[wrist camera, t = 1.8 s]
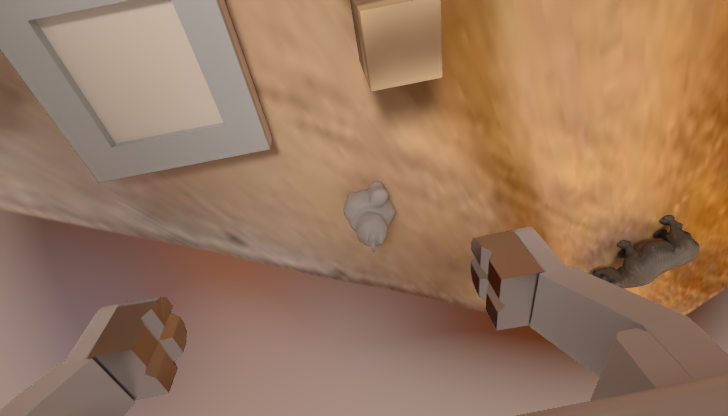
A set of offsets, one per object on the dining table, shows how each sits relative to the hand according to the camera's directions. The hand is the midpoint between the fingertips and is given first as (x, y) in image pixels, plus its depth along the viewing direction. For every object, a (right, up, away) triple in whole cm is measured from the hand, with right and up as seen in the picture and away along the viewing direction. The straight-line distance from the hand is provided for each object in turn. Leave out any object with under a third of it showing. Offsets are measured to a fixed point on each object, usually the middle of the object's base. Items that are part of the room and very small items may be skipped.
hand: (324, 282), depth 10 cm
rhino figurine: (+37, -3, +41) cm, 55 cm away
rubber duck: (+1, +3, +31) cm, 31 cm away
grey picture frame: (-17, +13, +20) cm, 29 cm away
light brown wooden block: (+3, +17, +20) cm, 27 cm away
